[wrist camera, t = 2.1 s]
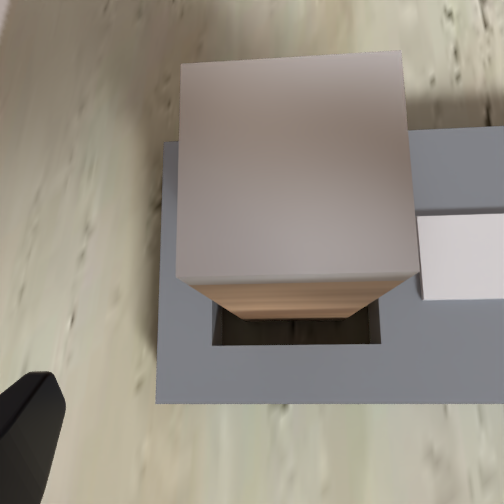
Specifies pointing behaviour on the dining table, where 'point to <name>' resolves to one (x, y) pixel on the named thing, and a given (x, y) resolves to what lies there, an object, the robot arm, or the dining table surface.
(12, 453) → the robot arm
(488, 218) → the socket block
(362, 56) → the plug
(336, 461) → the dining table surface
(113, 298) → the dining table surface
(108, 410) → the dining table surface
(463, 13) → the dining table surface
